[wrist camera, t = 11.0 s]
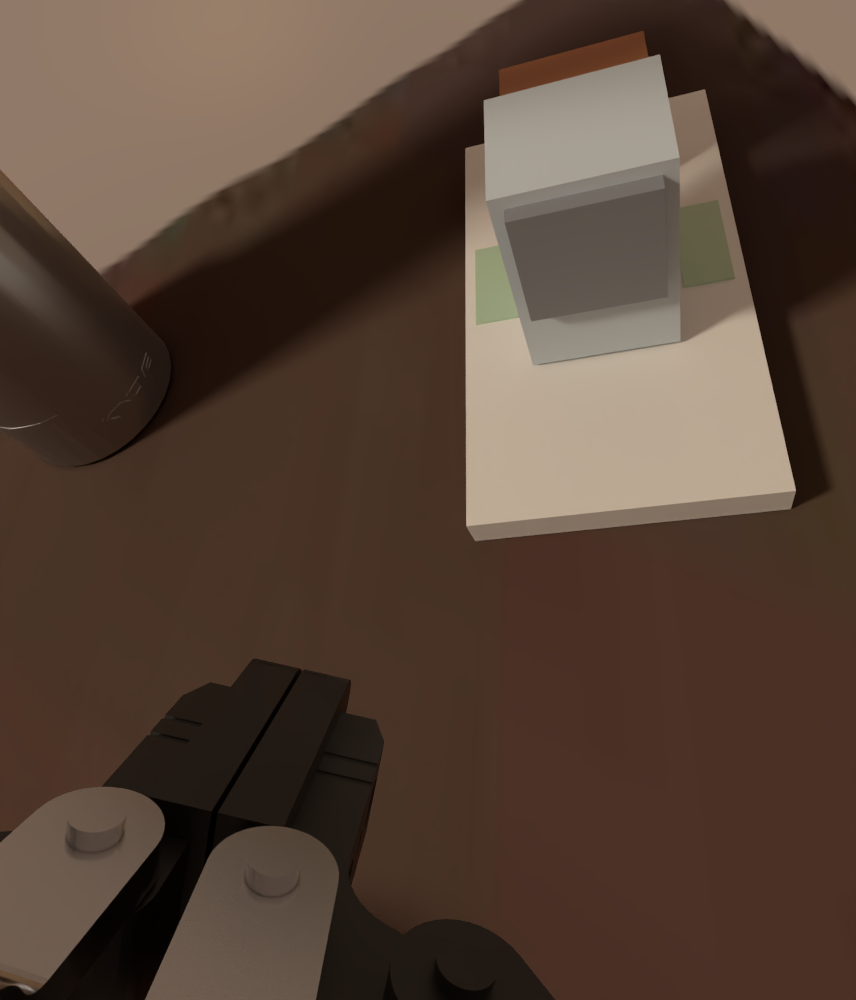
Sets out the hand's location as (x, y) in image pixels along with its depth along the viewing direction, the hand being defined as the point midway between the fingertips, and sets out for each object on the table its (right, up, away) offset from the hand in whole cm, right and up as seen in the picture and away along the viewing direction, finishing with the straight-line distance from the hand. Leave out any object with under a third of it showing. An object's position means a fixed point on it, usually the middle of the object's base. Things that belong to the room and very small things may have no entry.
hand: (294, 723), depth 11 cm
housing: (+10, +12, +23) cm, 28 cm away
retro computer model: (+9, +12, +21) cm, 26 cm away
